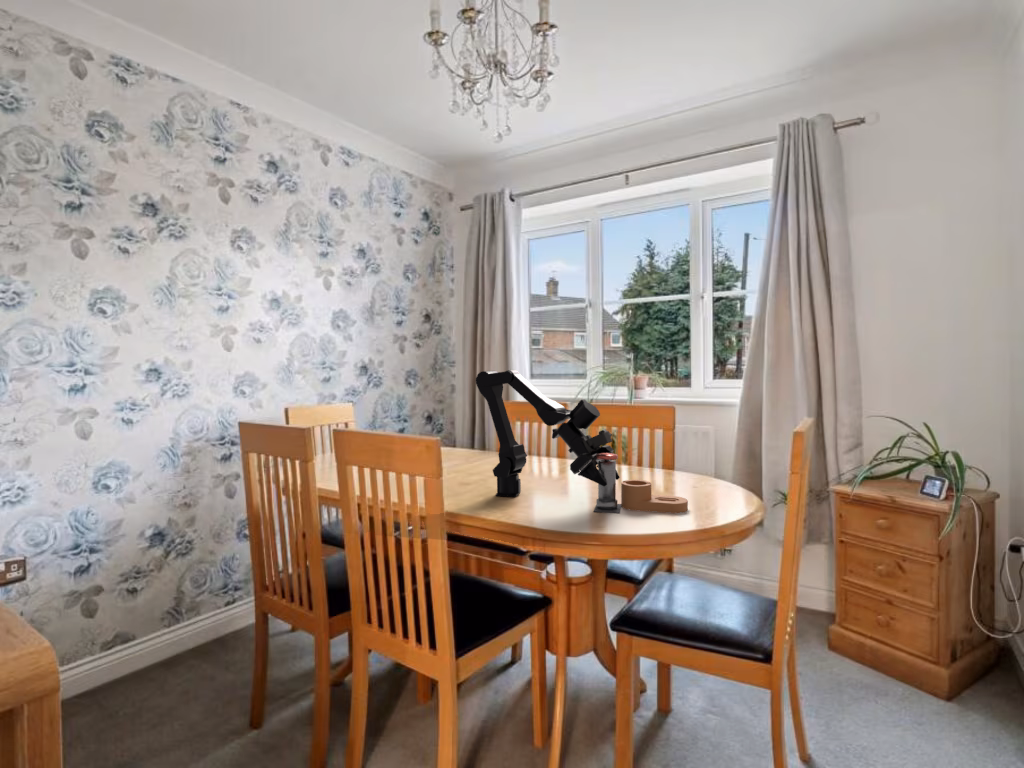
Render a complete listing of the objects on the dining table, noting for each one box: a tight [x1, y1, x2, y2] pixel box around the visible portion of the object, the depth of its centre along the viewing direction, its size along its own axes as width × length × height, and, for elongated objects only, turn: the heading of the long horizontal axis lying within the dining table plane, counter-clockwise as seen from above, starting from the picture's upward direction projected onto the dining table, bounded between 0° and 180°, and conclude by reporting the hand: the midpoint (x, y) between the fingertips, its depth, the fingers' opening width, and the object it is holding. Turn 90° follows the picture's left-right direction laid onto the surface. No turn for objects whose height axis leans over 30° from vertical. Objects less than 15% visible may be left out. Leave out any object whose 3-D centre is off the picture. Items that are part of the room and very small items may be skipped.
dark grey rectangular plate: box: [593, 503, 622, 514], centre depth 158 cm, size 7×9×1 cm
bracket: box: [620, 479, 689, 514], centre depth 158 cm, size 18×8×7 cm, turn 72°
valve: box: [595, 452, 619, 510], centre depth 157 cm, size 6×6×15 cm
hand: (612, 482), depth 157 cm, fingers open, 9 cm apart
